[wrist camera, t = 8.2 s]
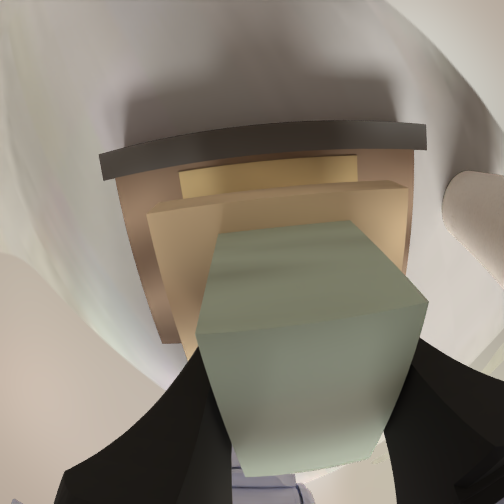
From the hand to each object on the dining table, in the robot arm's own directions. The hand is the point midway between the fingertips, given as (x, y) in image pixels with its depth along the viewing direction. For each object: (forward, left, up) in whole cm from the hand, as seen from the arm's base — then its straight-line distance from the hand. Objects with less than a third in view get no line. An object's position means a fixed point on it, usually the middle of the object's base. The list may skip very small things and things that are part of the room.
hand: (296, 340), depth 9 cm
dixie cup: (+1, -16, -11) cm, 19 cm away
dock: (0, 0, -10) cm, 10 cm away
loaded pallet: (0, 0, -3) cm, 3 cm away
